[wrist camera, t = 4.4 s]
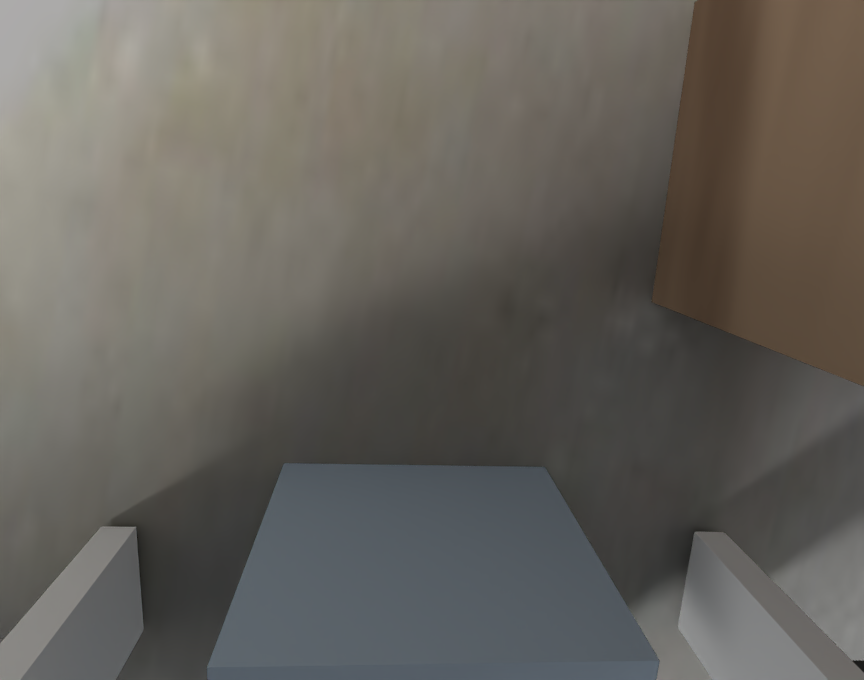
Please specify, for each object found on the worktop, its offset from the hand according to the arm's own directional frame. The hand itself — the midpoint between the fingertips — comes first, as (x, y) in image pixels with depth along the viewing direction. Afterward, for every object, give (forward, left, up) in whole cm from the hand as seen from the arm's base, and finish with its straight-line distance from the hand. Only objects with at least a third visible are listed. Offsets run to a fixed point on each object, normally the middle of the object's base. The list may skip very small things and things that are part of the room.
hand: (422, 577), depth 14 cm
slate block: (0, 0, 0) cm, 0 cm away
